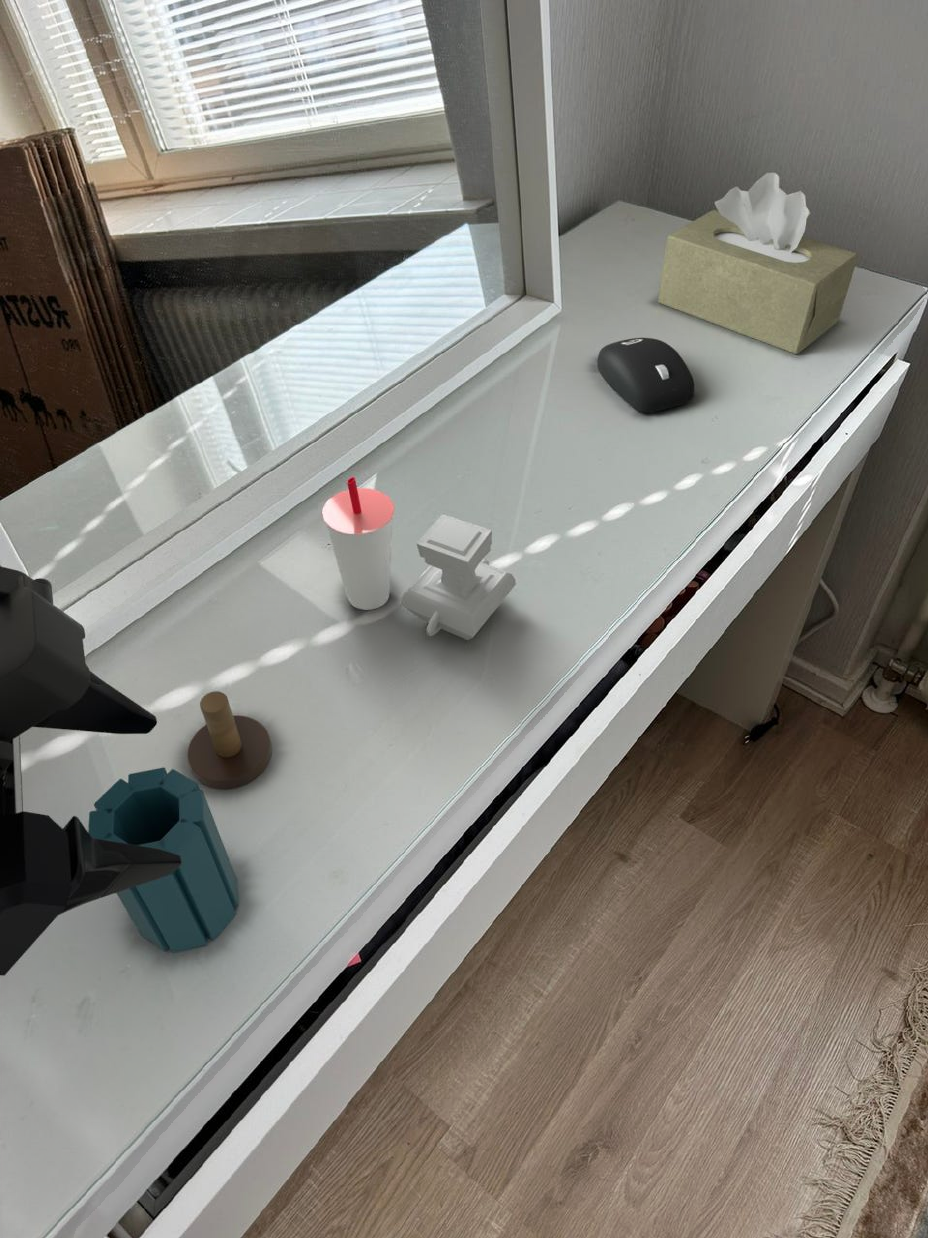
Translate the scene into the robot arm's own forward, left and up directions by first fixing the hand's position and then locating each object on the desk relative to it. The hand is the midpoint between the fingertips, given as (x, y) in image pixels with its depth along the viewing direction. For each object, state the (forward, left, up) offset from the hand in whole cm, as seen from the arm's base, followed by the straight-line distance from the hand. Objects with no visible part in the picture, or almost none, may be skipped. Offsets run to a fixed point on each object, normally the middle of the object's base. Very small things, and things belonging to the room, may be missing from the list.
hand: (164, 791), depth 48 cm
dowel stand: (+5, +9, -12) cm, 16 cm away
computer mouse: (+60, +31, -12) cm, 68 cm away
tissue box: (+80, +36, -12) cm, 88 cm away
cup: (+21, +18, -12) cm, 30 cm away
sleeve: (-1, 0, -12) cm, 12 cm away
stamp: (+26, +12, -12) cm, 31 cm away
